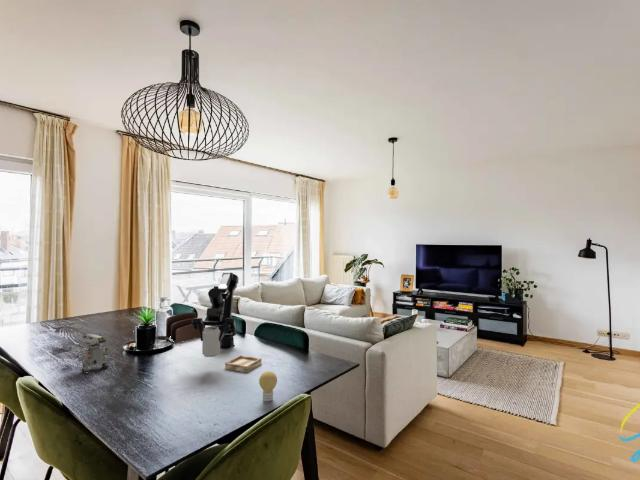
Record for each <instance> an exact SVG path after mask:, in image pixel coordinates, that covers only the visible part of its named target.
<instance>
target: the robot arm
mask: <svg viewBox="0 0 640 480" xmlns="http://www.w3.org/2000/svg"><path fill="white" fill-rule="evenodd" d="M238 284H239V276H238V275H237V274H235V273H234V272H231V271H226V272H225V271H224V272H222V275H221V279H220V281H219V284H217V285H215V286H213V288H211V289H210V290H209V291H208V292H207V295H208V298H209V302H210V304H211V307H209V308H206V315H205V316H206V319H207V320H203V318H202V317H196V318H194V319H193V320H192V325H193V328H194V329H195V330H198V331H200V337H199V338H200V342H202V340H203V331H204V326H205V327H211V326H215V327H219V330H220V337H219V341H220V349H230V348H233V347H235V344H234V343H235V341H234V340H235V339H234V337H235V336H237V331H236V330H237V329H236V325H237V324H236V319H235V318H234V317H232V315H233V314H232V312H233V311H232V310H233V303H234V302H233V300H234V292H235V290H237V289H236V288H238Z"/></svg>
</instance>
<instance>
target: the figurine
mask: <svg viewBox="0 0 640 480" xmlns="http://www.w3.org/2000/svg"><path fill="white" fill-rule="evenodd" d="M107 341H108V340H107V337H104V336H102V334H94V333H86V334H84V335H83V336H82V338H81V339H80V342H81V343H83V344H85V345H87V347H88V348H87V349H86V350H83V352H84V354H83V356H81V357H80V356H79V355H78V354H77V355H76V358H77V359H78V360H77V362H82V361H83V362H82V367H81V372H82V371H84V372H85V373H86V372H89V367H92V366H97V365H100V364H101V367H102V366H103V367H104V369H105V368H107V369H109V358H108V355H109V353H108V346H106V344H105V345H103V346H101V344H103V343H106V342H107ZM103 367H102V368H103Z"/></svg>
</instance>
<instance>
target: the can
mask: <svg viewBox="0 0 640 480" xmlns="http://www.w3.org/2000/svg"><path fill="white" fill-rule="evenodd" d="M219 337H220V330H219V327H218V326H205V328H204V331H203V340H202V341H201V343H202V348H201V349H202V351H201V354H202V355H203V356H204V358H205V357H206V358H213V357H217V356H219V354H220V353H221V348H220V341H219Z"/></svg>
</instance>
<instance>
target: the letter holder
mask: <svg viewBox="0 0 640 480" xmlns="http://www.w3.org/2000/svg"><path fill="white" fill-rule="evenodd" d="M194 318H197V312H192V311H191V312H182V313H178V314H174V315H171V316H169V317H166V321H165V322H166V323H165V324H166V325H165V338H166V337H170V336H171V339H173V341H174V342H175V343H174V344H179V343H178V342H180V343H183V342H182V341H184V342H186V340H188V341H191V340H194V338H195V339H198V337H199V338H201V337H200V331H198V330H195V329H194V328H193V325H192V320H193V319H194ZM204 328H206V326H204ZM190 339H191V340H190Z"/></svg>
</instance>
